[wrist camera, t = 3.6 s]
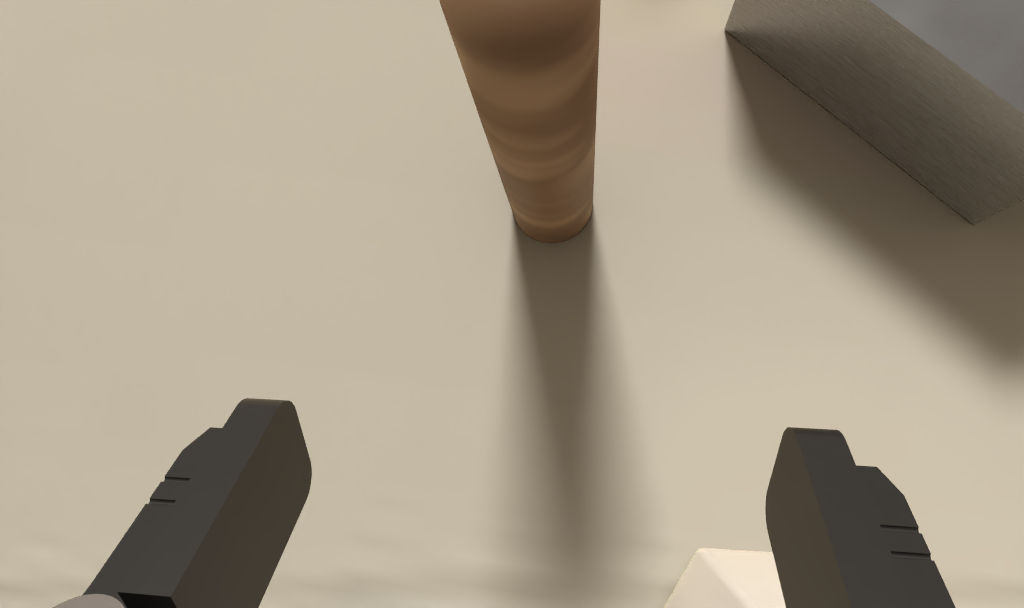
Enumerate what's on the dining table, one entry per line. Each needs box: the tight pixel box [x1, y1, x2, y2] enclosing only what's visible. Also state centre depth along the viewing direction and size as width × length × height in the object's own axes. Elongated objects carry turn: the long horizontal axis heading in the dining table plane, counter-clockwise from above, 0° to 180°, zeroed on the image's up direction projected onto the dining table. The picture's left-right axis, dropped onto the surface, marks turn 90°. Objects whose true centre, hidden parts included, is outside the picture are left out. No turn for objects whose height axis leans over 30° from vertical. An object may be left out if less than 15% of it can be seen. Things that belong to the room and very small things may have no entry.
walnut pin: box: [440, 0, 600, 243], centre depth 20 cm, size 3×3×14 cm
